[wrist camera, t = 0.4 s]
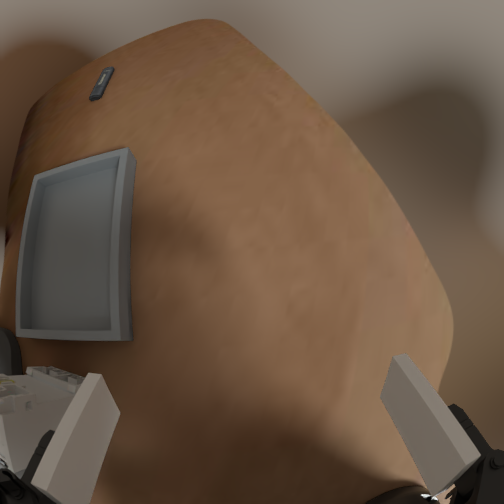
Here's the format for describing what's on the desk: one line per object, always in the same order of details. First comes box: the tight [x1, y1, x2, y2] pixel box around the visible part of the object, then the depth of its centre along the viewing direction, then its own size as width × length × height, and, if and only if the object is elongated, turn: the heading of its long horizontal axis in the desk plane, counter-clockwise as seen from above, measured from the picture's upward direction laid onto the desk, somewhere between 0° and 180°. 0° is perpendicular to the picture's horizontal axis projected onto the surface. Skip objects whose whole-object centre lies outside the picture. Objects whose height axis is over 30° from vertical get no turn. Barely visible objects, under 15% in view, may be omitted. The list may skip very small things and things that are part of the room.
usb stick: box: [89, 67, 114, 101], centre depth 38 cm, size 10×3×2 cm, turn 2°
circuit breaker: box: [0, 366, 85, 479], centre depth 15 cm, size 8×14×15 cm, turn 177°
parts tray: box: [16, 147, 136, 341], centre depth 27 cm, size 22×16×3 cm
